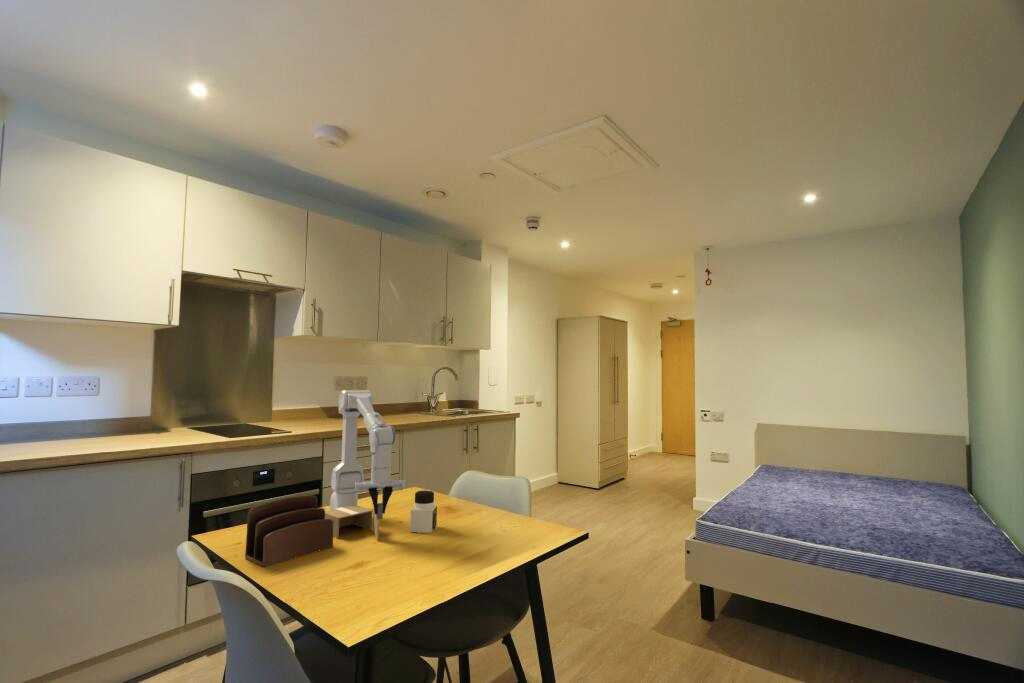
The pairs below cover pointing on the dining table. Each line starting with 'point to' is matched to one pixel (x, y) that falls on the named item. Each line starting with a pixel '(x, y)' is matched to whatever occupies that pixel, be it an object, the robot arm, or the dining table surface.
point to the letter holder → (286, 530)
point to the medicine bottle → (423, 513)
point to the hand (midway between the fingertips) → (379, 513)
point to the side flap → (377, 519)
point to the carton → (349, 517)
